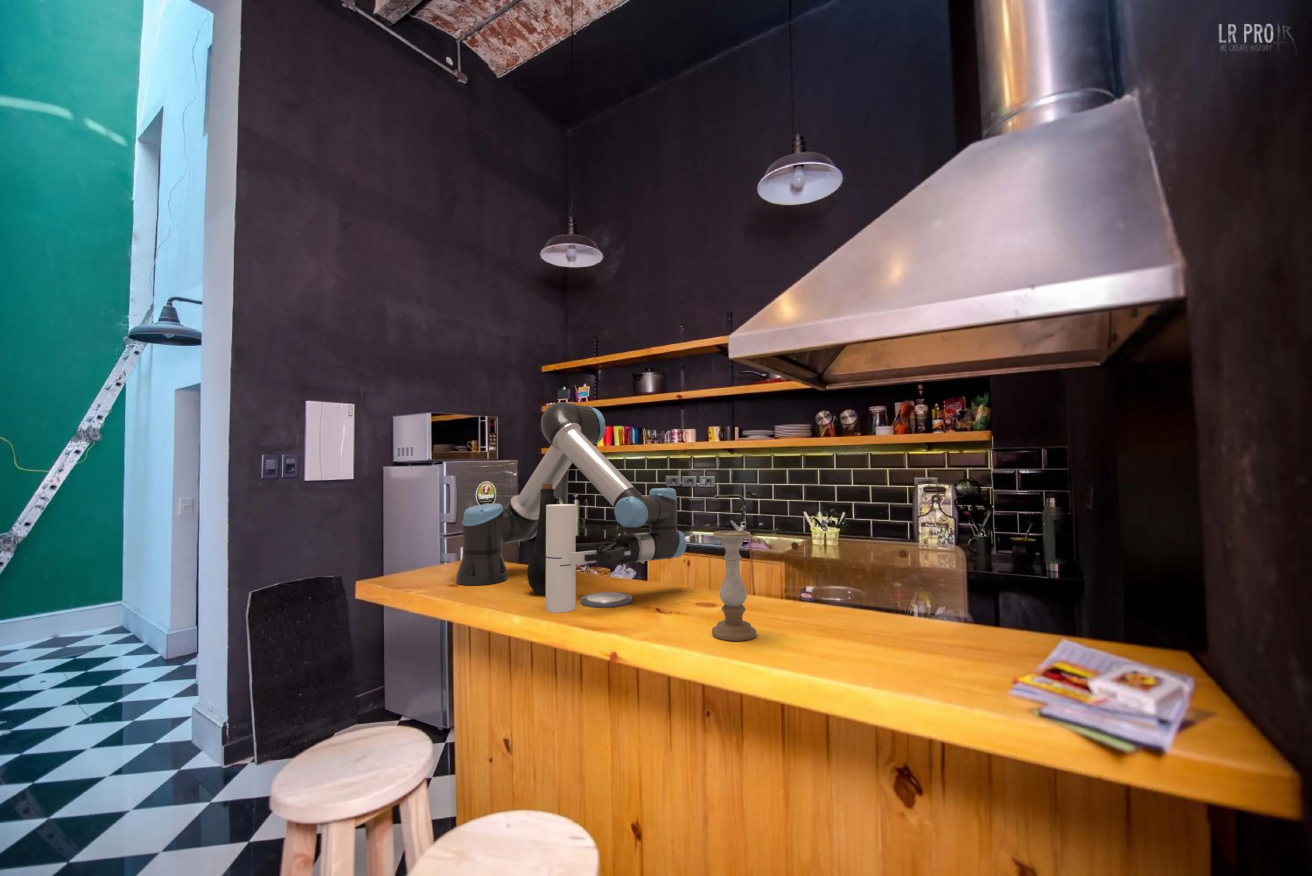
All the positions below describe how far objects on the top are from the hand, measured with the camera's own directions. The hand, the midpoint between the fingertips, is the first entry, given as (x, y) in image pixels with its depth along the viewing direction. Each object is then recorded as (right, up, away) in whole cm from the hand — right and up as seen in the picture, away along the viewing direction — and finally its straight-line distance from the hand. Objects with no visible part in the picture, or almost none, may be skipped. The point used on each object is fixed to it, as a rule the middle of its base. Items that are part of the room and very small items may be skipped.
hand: (558, 555), depth 127 cm
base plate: (+11, -13, +7) cm, 18 cm away
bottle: (-7, -15, +18) cm, 24 cm away
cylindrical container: (+1, -13, 0) cm, 13 cm away
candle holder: (+39, -11, -22) cm, 47 cm away
